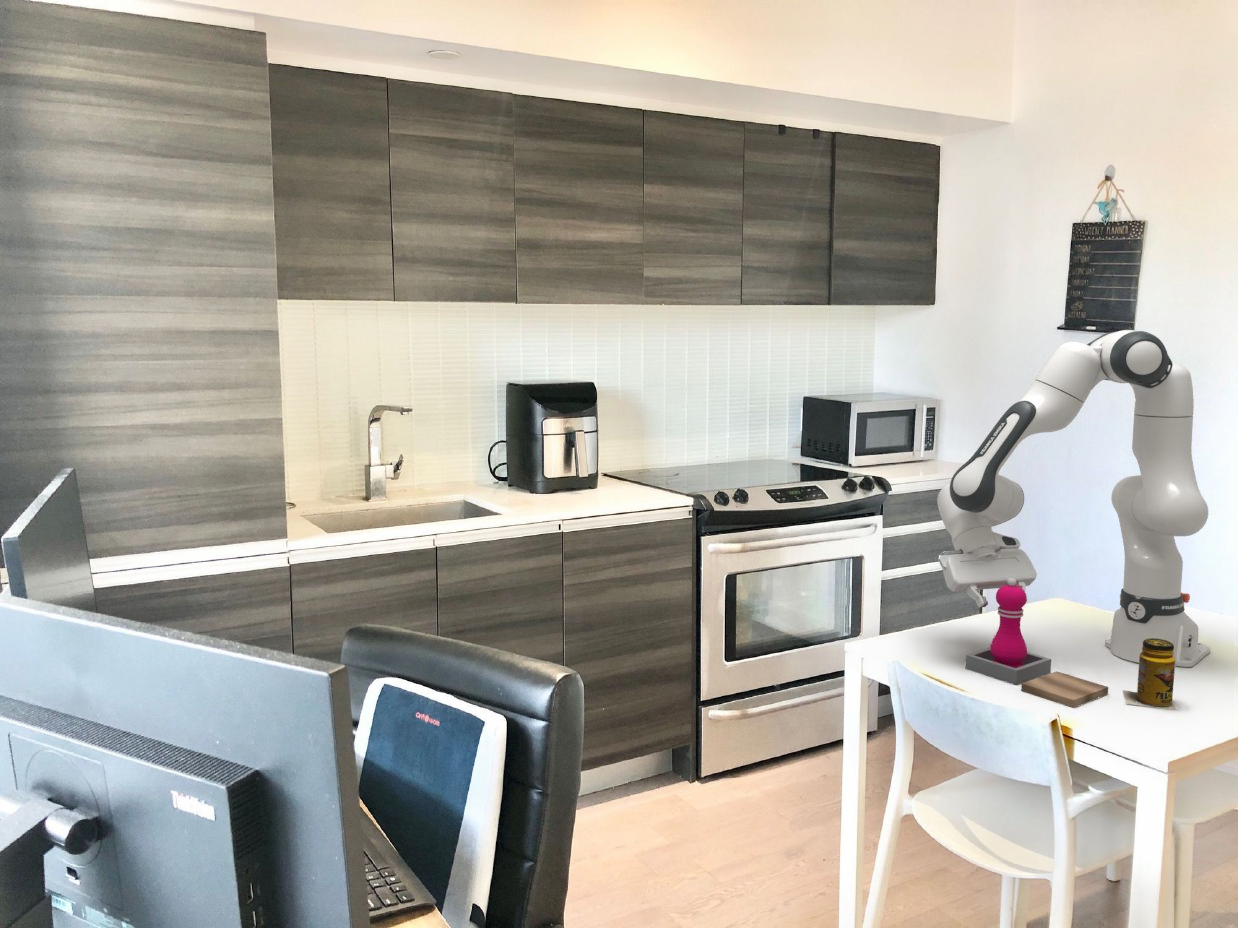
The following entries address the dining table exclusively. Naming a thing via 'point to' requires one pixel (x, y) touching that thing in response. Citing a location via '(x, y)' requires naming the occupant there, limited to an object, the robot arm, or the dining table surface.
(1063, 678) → the walnut board
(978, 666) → the gray square tray
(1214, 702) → the dining table surface
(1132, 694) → the condiment
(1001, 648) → the pepper mill
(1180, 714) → the dining table surface
